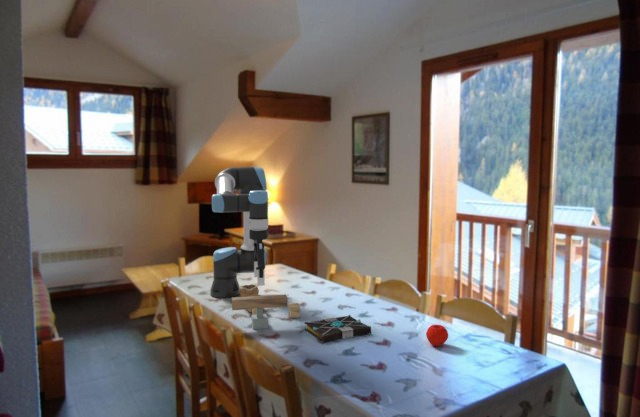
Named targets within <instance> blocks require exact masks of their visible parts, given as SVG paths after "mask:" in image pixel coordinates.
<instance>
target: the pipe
mask: <svg viewBox="0 0 640 417" xmlns="http://www.w3.org/2000/svg"><path fill="white" fill-rule="evenodd" d="M239 286H240V287H239V293H240V294H239V295H240V297H252V296H262V295H261V294H260V293H259V291H260V290H259V287H258V285H257V284H248V285H247V284H245V285H244V284H243V285H239ZM264 309H265V308H263V310H264ZM246 311H247V312H249V313H251V314H252V309H246Z"/></svg>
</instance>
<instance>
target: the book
mask: <svg viewBox="0 0 640 417" xmlns="http://www.w3.org/2000/svg"><path fill="white" fill-rule="evenodd" d="M303 323H304V325H306V328H305V327H304V330H305V331H306V332H308V333H309V334H311V335H312V336H314V337H315V338H316V339H317V340H318V341H319V342H321V344H324V343H326V342H327V343H329V342H331V341H335V340H336V341H337V340H341V339H342V340H345V339H352V338H354V337H359V336H365V335H372V326H371V325H368V324H365V323H363V322H361V319H355V317H352V316H351V314H348V315H344V316H340V317H328V318H323V319H321V320H315V321H304V322H303Z"/></svg>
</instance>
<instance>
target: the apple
mask: <svg viewBox="0 0 640 417" xmlns="http://www.w3.org/2000/svg"><path fill="white" fill-rule="evenodd" d="M425 336H426V339H427V341H428V342H429V344H431V345H432V346H434V347H440V346H442V345H444V343H445V342H447V341H448V339H449V332H448V330H447V328H446V327H445V326H443V325H442V324H432V325H430V326H429V327H428V328H427V330H426V332H425Z"/></svg>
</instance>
